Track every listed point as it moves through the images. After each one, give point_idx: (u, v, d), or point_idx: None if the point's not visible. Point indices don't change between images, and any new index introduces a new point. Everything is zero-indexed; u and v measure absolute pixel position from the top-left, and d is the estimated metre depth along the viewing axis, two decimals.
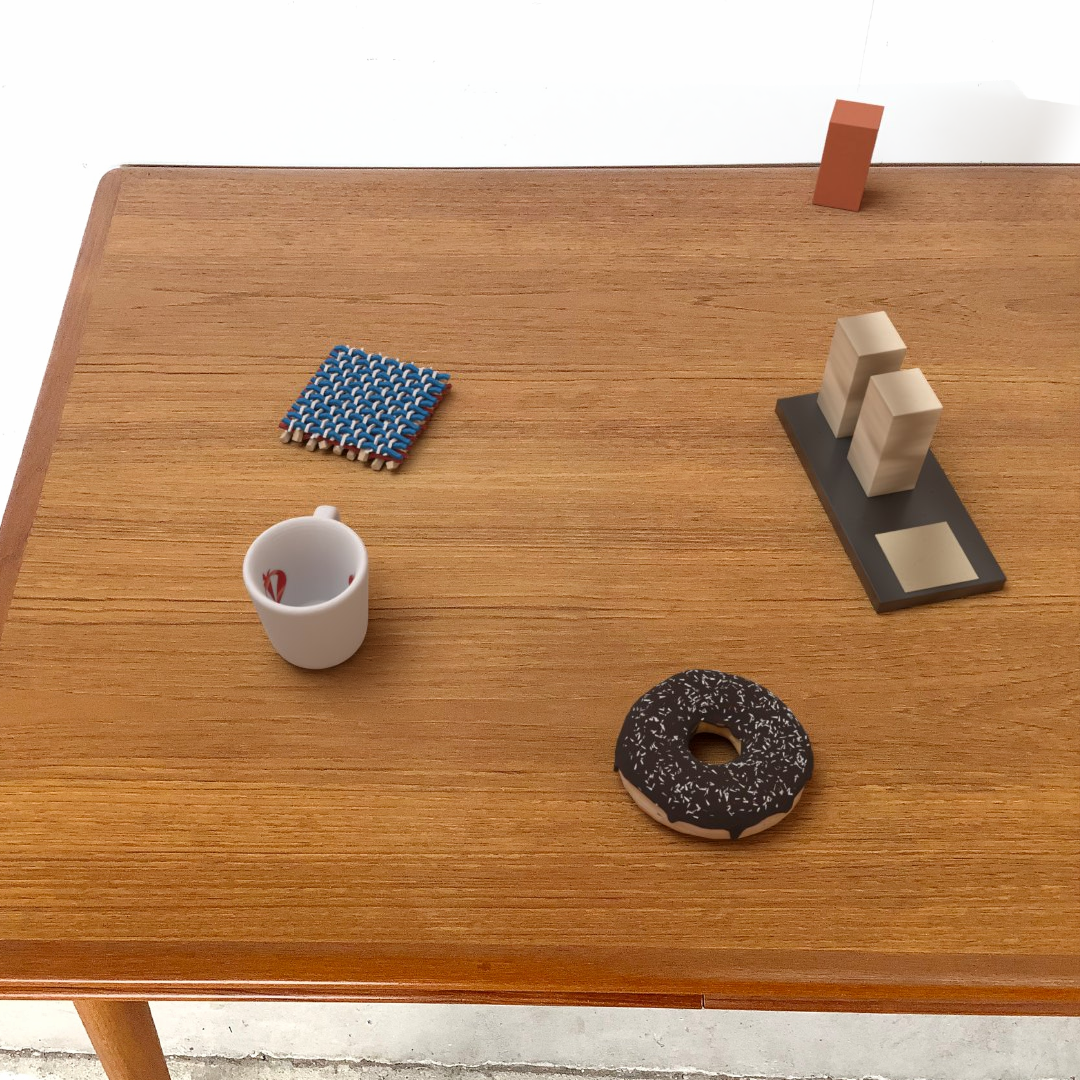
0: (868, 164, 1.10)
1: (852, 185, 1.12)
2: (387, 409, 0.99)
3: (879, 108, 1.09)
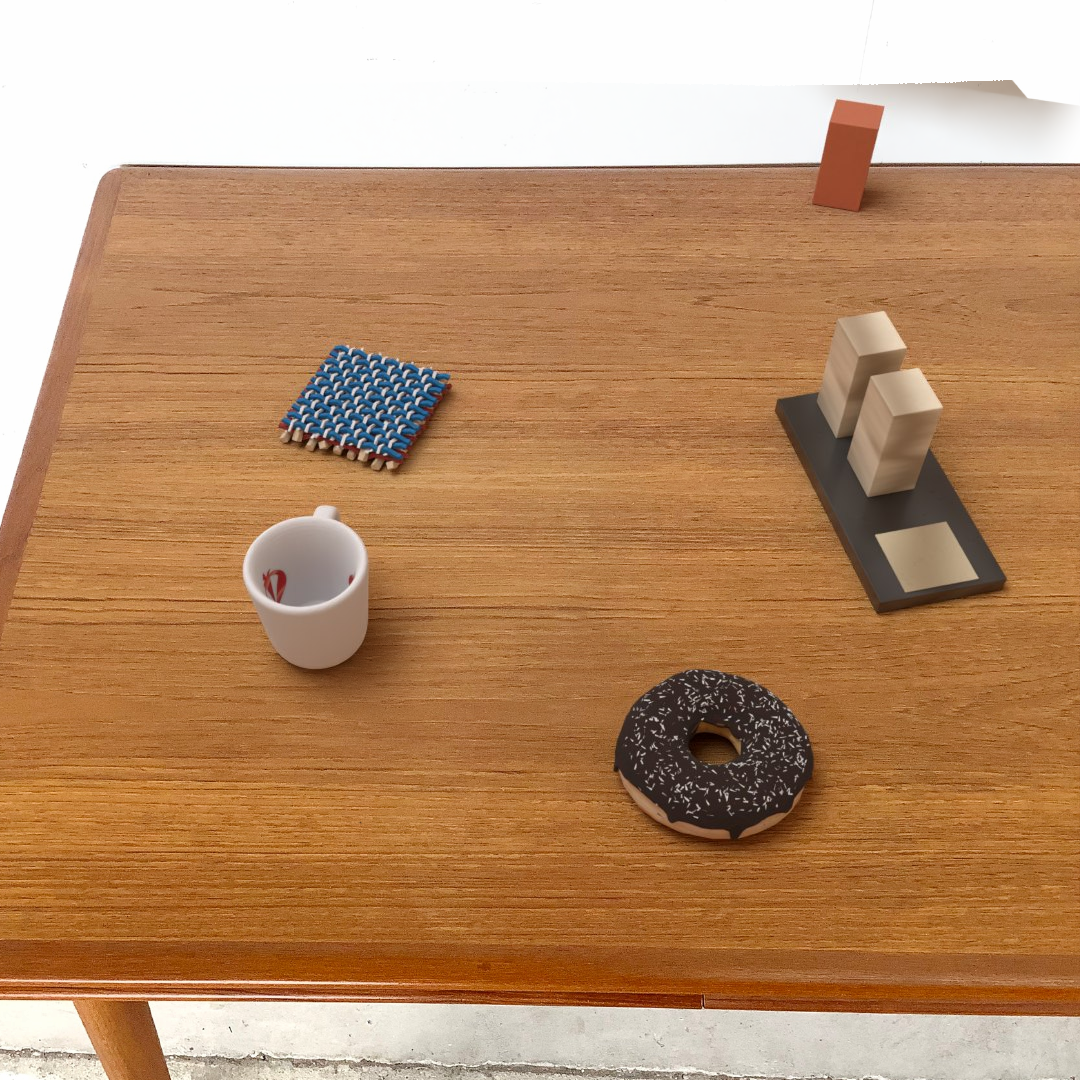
0: (868, 164, 1.10)
1: (852, 185, 1.12)
2: (387, 409, 0.99)
3: (879, 108, 1.09)
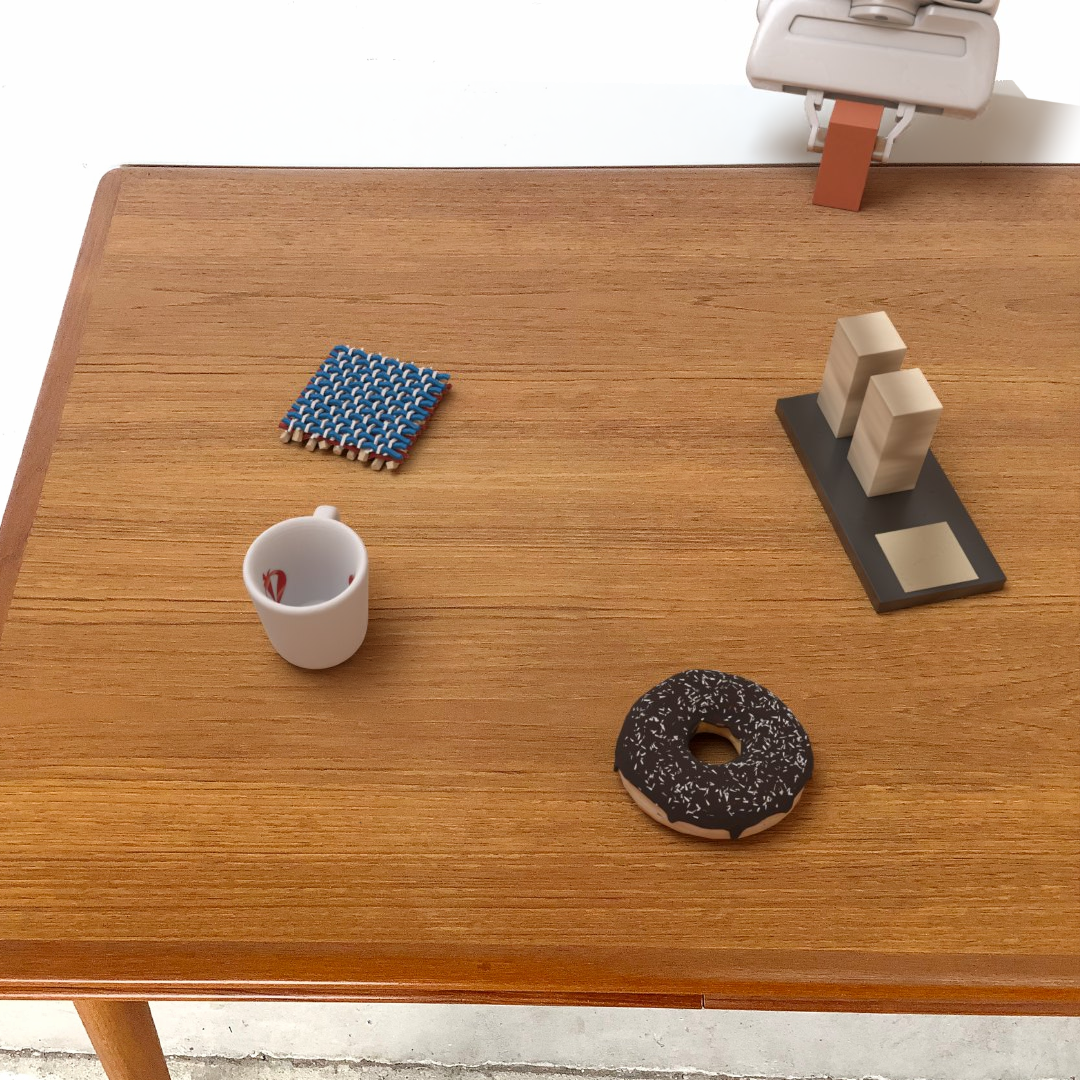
0: (868, 164, 1.10)
1: (852, 185, 1.12)
2: (387, 409, 0.99)
3: (879, 108, 1.09)
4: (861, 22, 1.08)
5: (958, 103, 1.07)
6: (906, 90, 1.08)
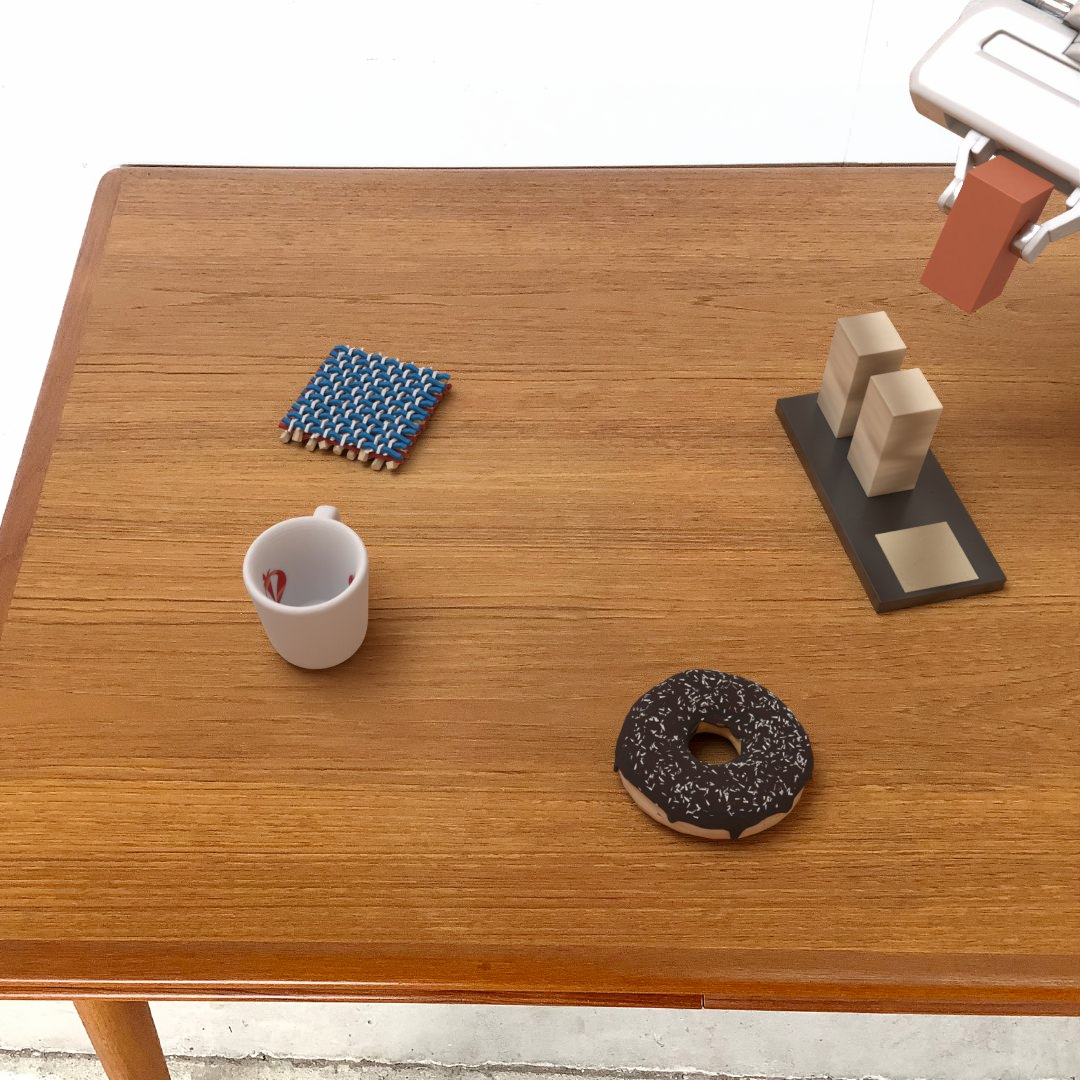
0: (998, 251, 0.79)
1: (972, 273, 0.81)
2: (387, 409, 0.99)
3: (1046, 184, 0.78)
4: (1076, 66, 0.77)
5: None
6: None
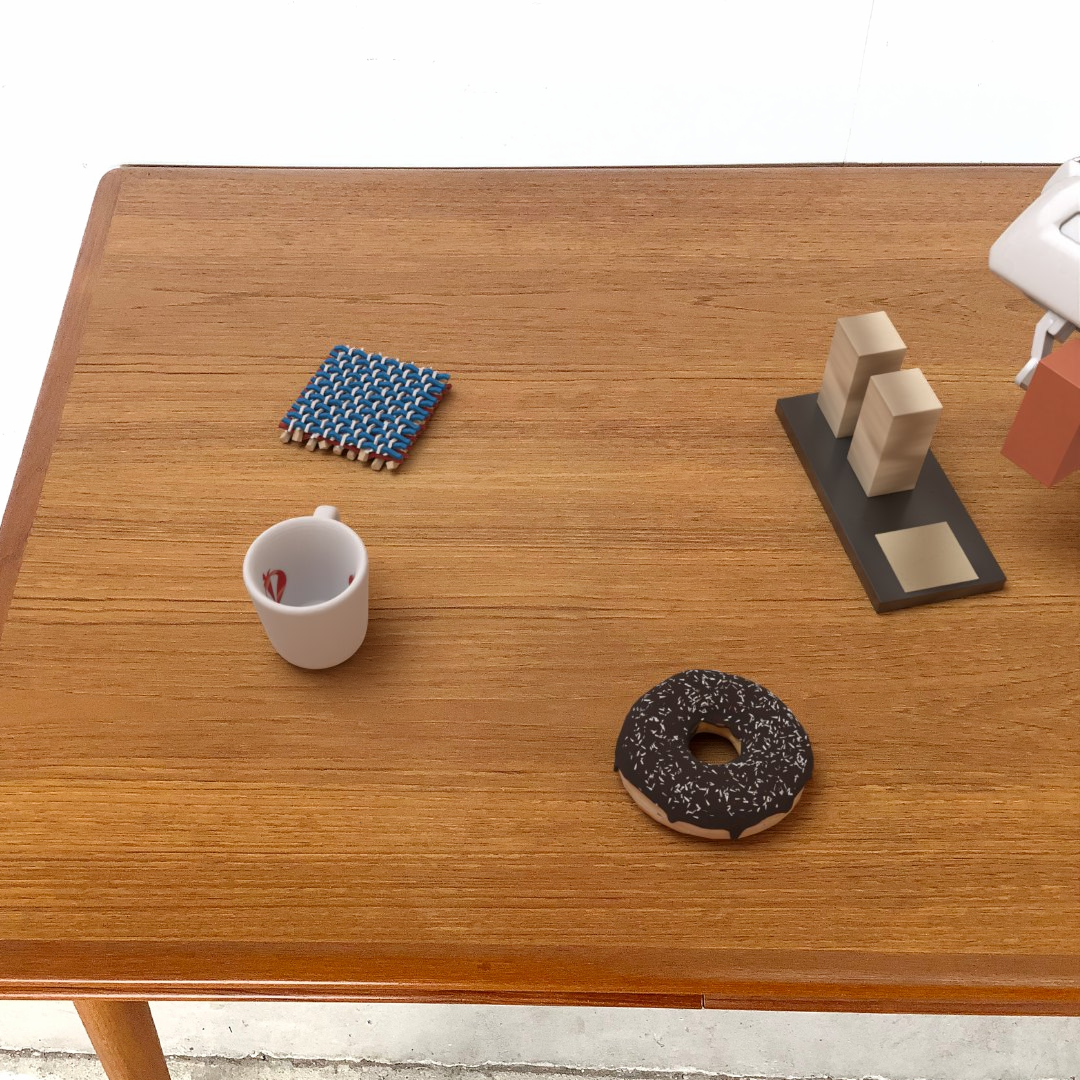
0: (1072, 436, 0.80)
1: (1049, 452, 0.82)
2: (387, 409, 0.99)
3: None
4: None
5: None
6: None
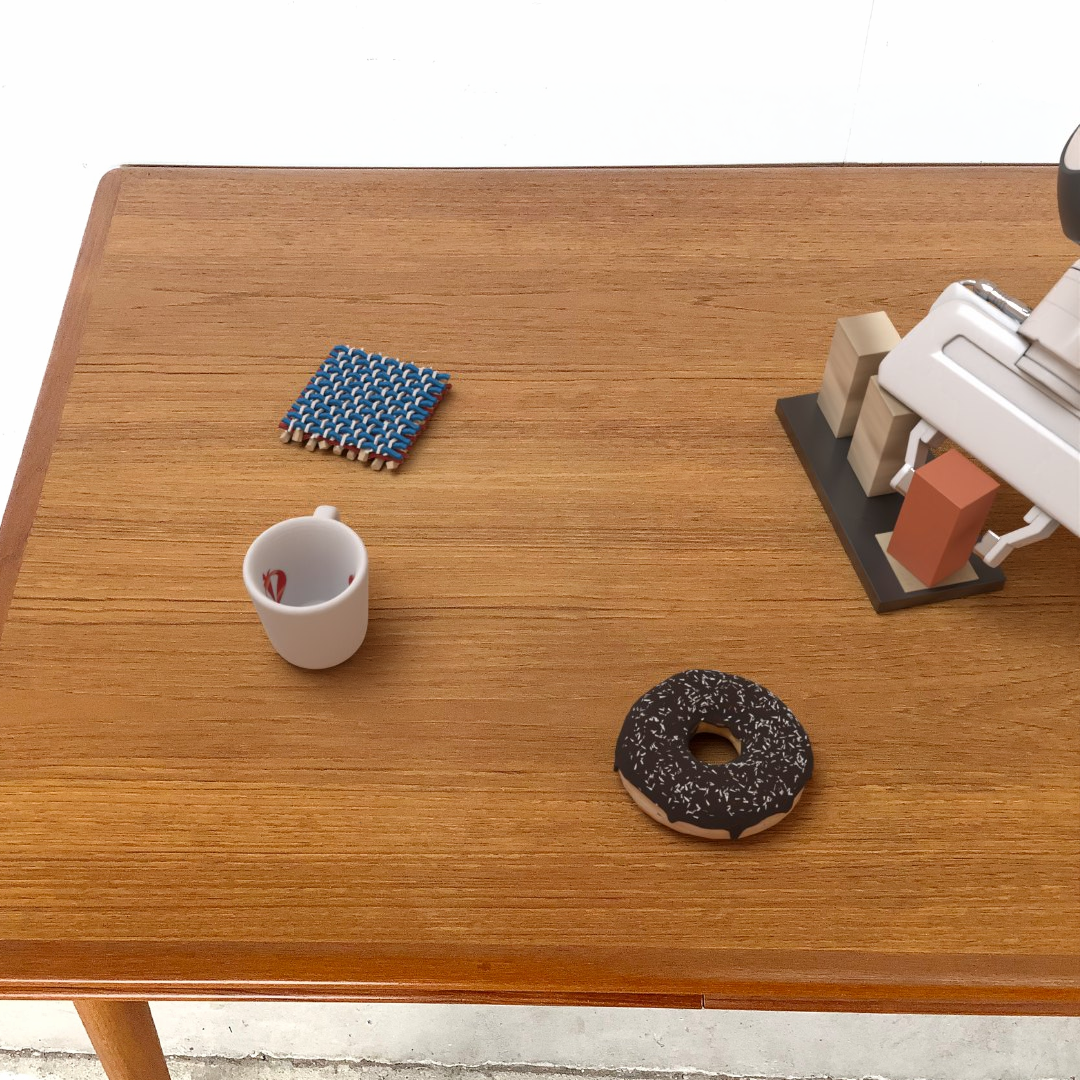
0: (946, 542, 0.84)
1: (927, 555, 0.86)
2: (387, 409, 0.99)
3: (991, 484, 0.82)
4: (1026, 378, 0.81)
5: None
6: (1031, 486, 0.80)
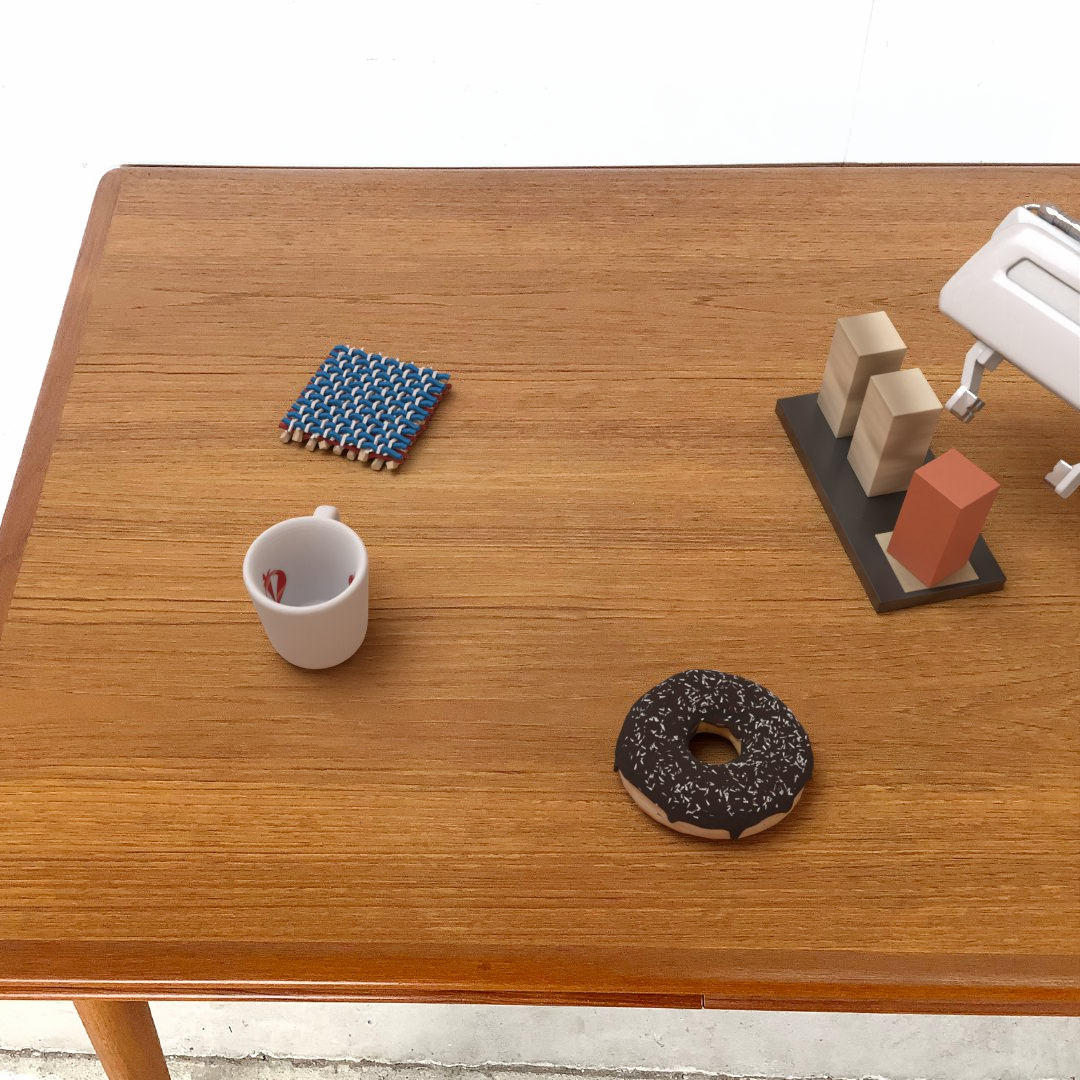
0: (946, 542, 0.84)
1: (927, 555, 0.86)
2: (387, 409, 0.99)
3: (991, 484, 0.82)
4: None
5: None
6: None
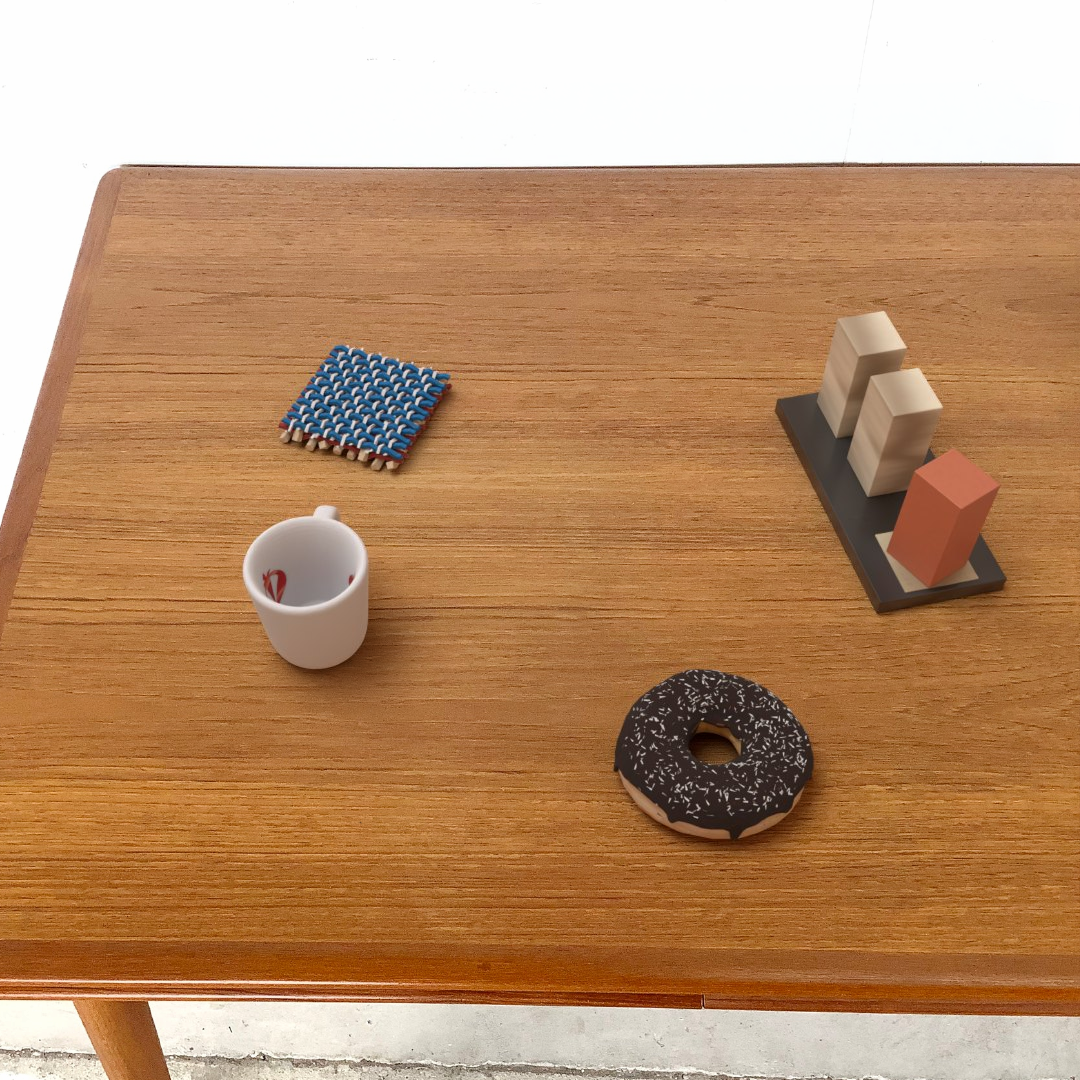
0: (946, 542, 0.84)
1: (927, 555, 0.86)
2: (387, 409, 0.99)
3: (991, 484, 0.82)
4: None
5: None
6: None
